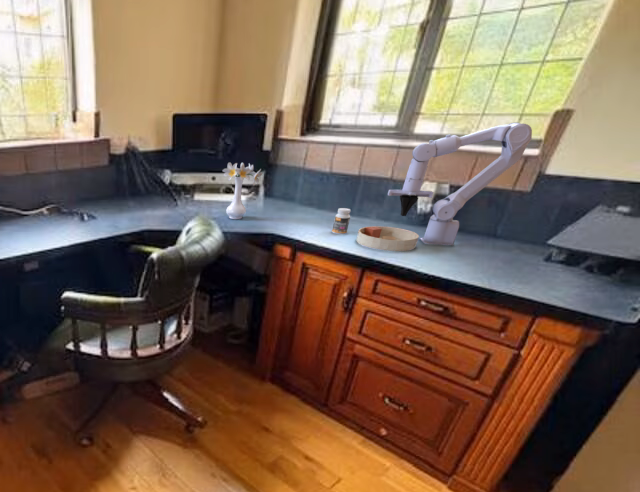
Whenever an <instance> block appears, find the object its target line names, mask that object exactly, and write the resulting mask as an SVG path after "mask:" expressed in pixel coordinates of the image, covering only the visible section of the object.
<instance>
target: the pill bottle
mask: <svg viewBox="0 0 640 492" xmlns="http://www.w3.org/2000/svg"><path fill="white" fill-rule="evenodd" d="M351 212H352V211H351V209H350V208H346V207H339V208H338V209H337V213H336V214H335V216H334V220H333V225H332V229H331V232H332V233H333V234H339V235H344V234H347V232H348V229H349V224H350V220H351V215H350V213H351Z"/></svg>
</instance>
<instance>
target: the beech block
mask: <svg viewBox="0 0 640 492" xmlns="http://www.w3.org/2000/svg"><path fill="white" fill-rule="evenodd" d="M382 239H388V240H395V237H391V236H382Z"/></svg>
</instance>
